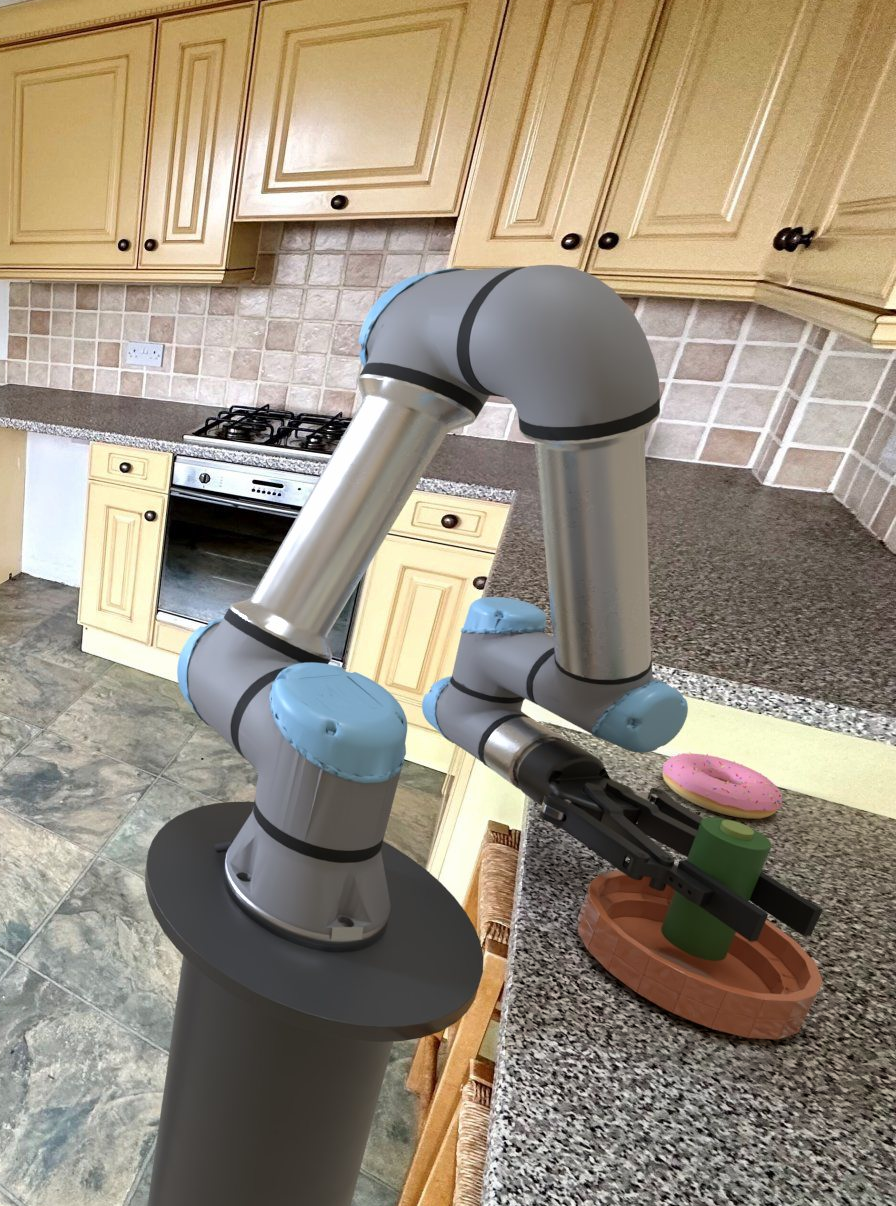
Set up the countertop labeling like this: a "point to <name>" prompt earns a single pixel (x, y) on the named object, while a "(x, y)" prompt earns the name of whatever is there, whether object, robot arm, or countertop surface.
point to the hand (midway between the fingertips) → (785, 924)
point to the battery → (732, 862)
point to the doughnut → (722, 785)
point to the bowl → (697, 964)
